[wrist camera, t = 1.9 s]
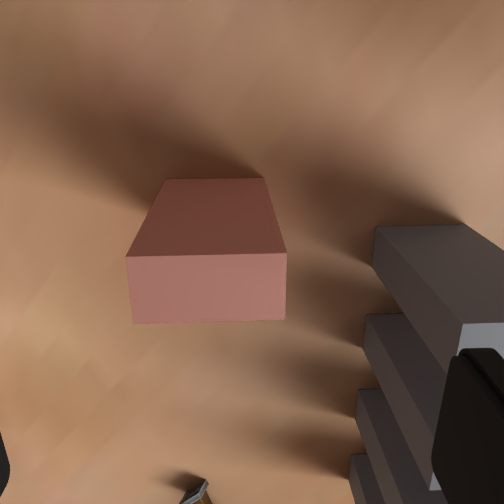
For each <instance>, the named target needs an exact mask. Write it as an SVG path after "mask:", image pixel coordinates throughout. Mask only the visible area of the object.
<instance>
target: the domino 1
mask: <svg viewBox="0 0 504 504" xmlns="http://www.w3.org/2000/svg"><path fill="white" fill-rule="evenodd" d="M126 266H127V274H128V282H129V291H130V299H131V308H132V316H133V324H150V323H185V322H219V321H254V320H285V305H286V270H287V252H286V248H285V245H284V242H283V239H282V236H281V232H280V229H279V226H278V223H277V219H276V216H275V213H274V210H273V206H272V203H271V200H270V197H269V193H268V190H267V187H266V184H265V181H264V178H218V179H166V180H165V182H164V184H163V185H162V187H161V189H160V191H159V193H158V195H157V197H156V199H155V201H154V203H153V205H152V207H151V209H150V211H149V212H148V214H147V216H146V218H145V220H144V222H143V224H142V226H141V228H140V230H139V232H138V234H137V236H136V237H135V239H134V241H133V243H132V245H131V247H130V249H129V251H128V253H127V255H126Z"/></svg>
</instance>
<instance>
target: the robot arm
mask: <svg viewBox="0 0 504 504" xmlns="http://www.w3.org/2000/svg"><path fill="white" fill-rule="evenodd" d="M431 464H432V468H433V472H434V474H435V477H436V479H437V481H438V483H439V485H440V487H441V489H442V492H443V494H444V496H445V498H446V500H447V502H448V504H504V359H503V357H502V356H501V355H500V354H499V353H498V352H497V351H496V350H495V349H493V348H463V349H461V350H460V352H459V354H458V356H453V357H452V358H451V360H450V364H449V368H448V373H447V378H446V383H445V388H444V393H443V398H442V403H441V408H440V413H439V418H438V423H437V428H436V433H435V438H434V442H433V447H432V452H431ZM9 475H10V464H9V461H8V457H7V454H6V450H5V447H4V443H3V440H2V436H1V433H0V496H1V495H2V493H3V491H4V489H5V487H6V485H7V483H8V480H9Z"/></svg>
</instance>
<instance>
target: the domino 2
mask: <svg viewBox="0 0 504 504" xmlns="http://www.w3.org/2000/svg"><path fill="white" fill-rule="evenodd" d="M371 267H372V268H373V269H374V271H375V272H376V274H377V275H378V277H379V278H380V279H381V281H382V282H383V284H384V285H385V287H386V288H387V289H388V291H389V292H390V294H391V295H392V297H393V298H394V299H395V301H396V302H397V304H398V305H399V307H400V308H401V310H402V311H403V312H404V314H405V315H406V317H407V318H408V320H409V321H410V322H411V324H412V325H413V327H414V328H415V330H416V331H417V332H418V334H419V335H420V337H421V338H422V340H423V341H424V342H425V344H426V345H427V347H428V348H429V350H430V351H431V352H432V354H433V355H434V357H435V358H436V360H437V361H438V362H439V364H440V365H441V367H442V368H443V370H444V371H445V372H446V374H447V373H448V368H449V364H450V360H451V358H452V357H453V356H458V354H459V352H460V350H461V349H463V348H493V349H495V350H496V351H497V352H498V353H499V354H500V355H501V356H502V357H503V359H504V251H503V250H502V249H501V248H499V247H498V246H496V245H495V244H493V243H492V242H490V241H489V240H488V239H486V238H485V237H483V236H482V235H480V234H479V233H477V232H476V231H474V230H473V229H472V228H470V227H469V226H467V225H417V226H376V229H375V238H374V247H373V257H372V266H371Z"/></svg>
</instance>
